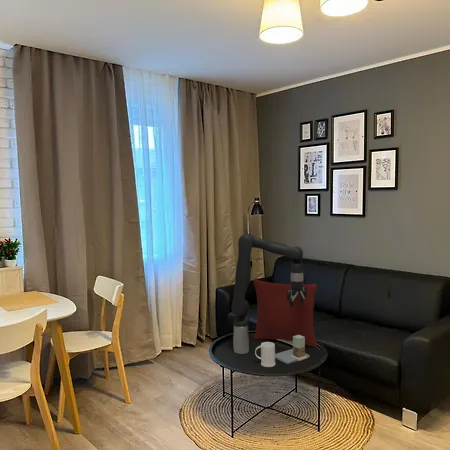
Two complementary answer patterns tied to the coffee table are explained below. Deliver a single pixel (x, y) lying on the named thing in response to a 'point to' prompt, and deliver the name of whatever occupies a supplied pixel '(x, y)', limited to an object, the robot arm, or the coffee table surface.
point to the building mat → (289, 356)
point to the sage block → (298, 341)
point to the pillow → (284, 313)
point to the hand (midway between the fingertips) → (297, 305)
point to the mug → (267, 354)
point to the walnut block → (298, 352)
